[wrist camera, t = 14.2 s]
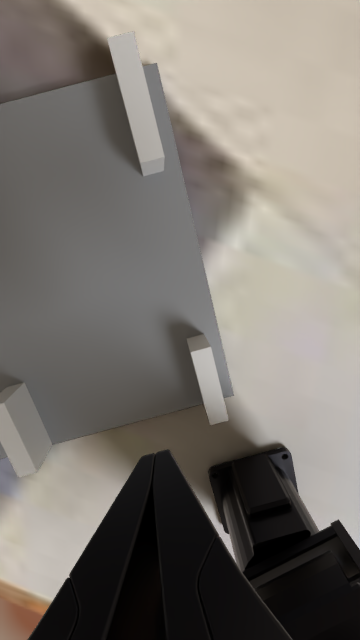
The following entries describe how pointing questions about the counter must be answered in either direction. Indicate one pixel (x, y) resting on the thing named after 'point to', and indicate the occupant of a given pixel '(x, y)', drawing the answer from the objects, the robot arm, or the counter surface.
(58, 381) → the board
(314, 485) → the counter surface
